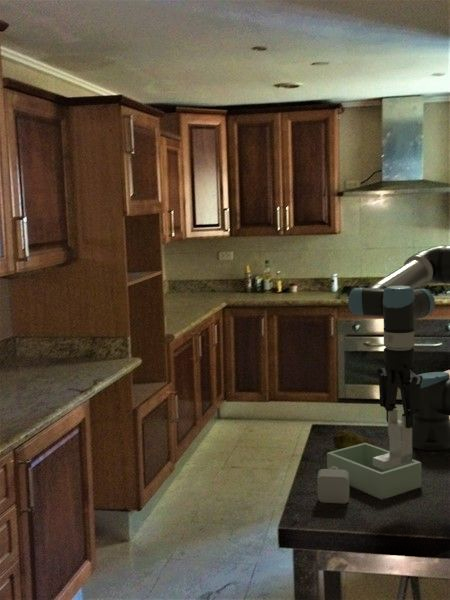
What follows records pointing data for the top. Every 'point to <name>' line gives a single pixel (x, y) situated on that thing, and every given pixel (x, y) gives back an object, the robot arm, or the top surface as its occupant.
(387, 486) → the open box
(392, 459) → the grey l-shaped block
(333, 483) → the wall hook
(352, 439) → the potato
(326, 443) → the top surface
